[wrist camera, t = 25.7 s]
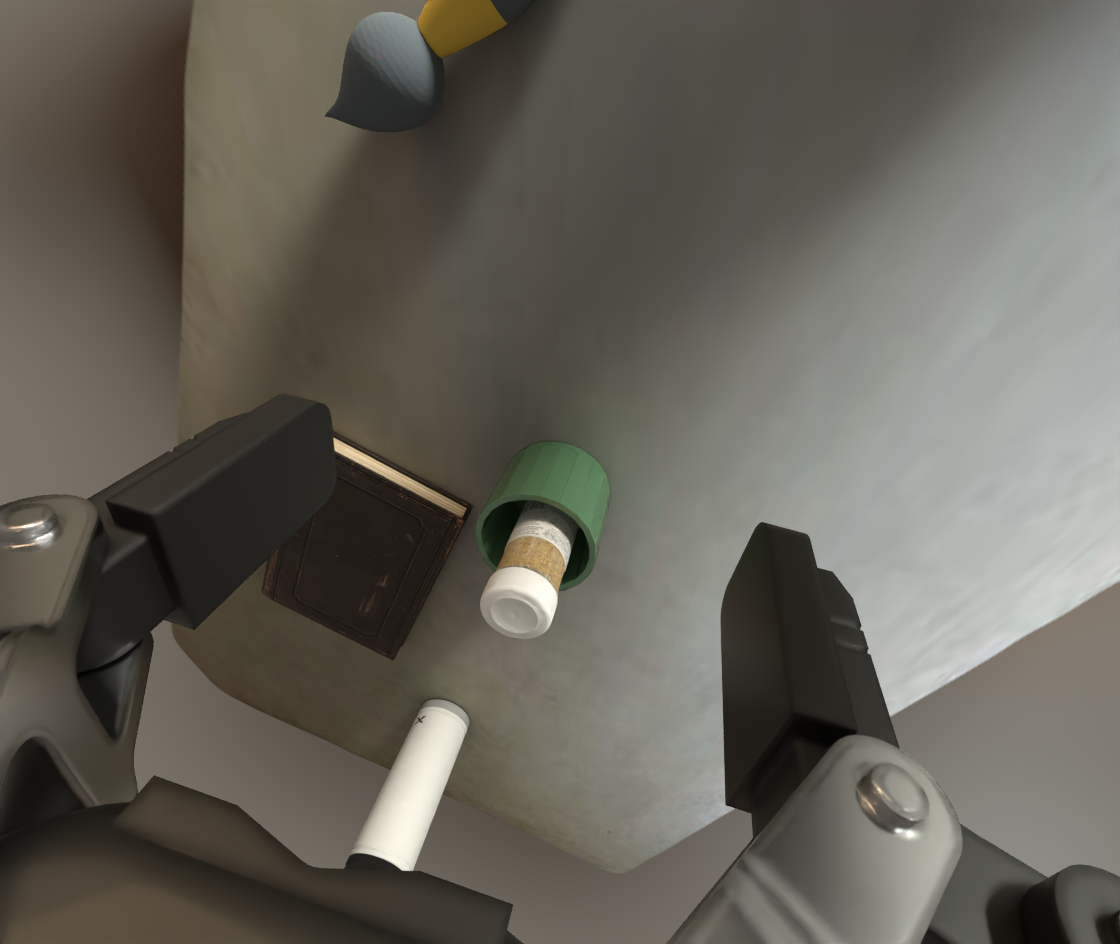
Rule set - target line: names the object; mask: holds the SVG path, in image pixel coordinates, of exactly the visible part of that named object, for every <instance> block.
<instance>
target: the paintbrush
mask: <svg viewBox="0 0 1120 944" xmlns="http://www.w3.org/2000/svg"><path fill="white" fill-rule="evenodd" d="M532 1H533V0H427V2H426V4H425V6H424V8H423V11H422V13H421V15H420V17H419V19H418V22H416V21H414V20H413V19H411V18H409V17H407V16H405V15H402V14H398V13H394V12H379V13H374V14H372V15H370V16H367V17H366V18H364V19H363V20H362V21H360V22H359V23H358V25H357V26H356V27H355V29H354V30H353V32H352V34H351V36H350V38H349V42H348V45H347V48H346V53H345V58H344V64H343V72H342V80H341V87H340V92H339V95H338V98H337V100H336V102H335V104H334V105H333V106H332V107H331V108H330V109H329V110H328V112H327V113H326V114H325V116H326V117H331V118H334V119H337V120H340V121H342V122H345V123H347V124H350V125H352V126H355V127H358V128H362V129H365V130H370V131H376V132H398V131H405V130H410V129H413V128H416V127H418V126H420V125H422V124H424V123H426V122H427V121H428V120H429V119H430V118H431V117H432V116H433V115H434V113H435V112H436V111H437V109H438V107H439V105H440V103H441V100H442V96H443V92H444V84H445V74H444V66H443V61H442V58H443V57H445V56H447V55H450V54H452V53H454V52H456V51H459V50H461V49H463V48H465V47H467V46H469V45H471V44H473V43H475V42H477V41H479V40H481V39H483V38H485V37H486V36H488V35H490V34H492V33H493V32H495V31H497V30H499V29H501V28H502V27H504V26H505V25H507V24H508V23H510V22H511V21H512V20H513V19H514V18H516V17H517V16H518V15H519V14H520V13H521V12H522V11H523V10H524V9H525V8H526V7H527V6H528V5H529V4H530V3H531V2H532Z"/></svg>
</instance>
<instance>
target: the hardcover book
mask: <svg viewBox="0 0 1120 944" xmlns="http://www.w3.org/2000/svg"><path fill="white" fill-rule="evenodd" d="M333 439H334V449H335V459H336V469H337V478H336V483H335V487H334V489H333V492H332V494H331V496H330V497H329V499H328V500H327V502H326V503H325V504H324V505H323V506H322V507H321V508H320V509H319V510H318V511H317V512H316V513H315V514H314V515H313V516H312V517H311V518H309V519H308V520H307V521H306V522H305V523H304V524H303V525H302V526H301V527H300V528H299V529H298V530H297V531H296V532H295V533H294V534H293V535H292V536H291V537H290V538H289V539H288V540H287V541H286V542H285V543H284V544H283V545H282V546H280V547H279V548H278V549H277V550H276V551H275V552H274V553H273V554H272V555H271V556H270V557H269V558H268V562H267V567H266V572H265V577H264V582H263V586H262V594H263V596H265V597H267V598H269V599H271V600H273V601H275V602H277V603H279V604H281V605H283V606H285V607H287V608H289V609H291V610H293V611H295V612H297V613H299V614H301V615H303V616H305V617H307V618H309V619H311V620H313V621H315V622H317V623H319V624H321V625H323V626H325V627H327V628H329V629H331V630H333V631H335V632H337V633H339V634H341V635H343V636H345V637H347V638H349V639H351V640H353V641H355V642H357V643H359V644H361V645H363V646H365V647H367V648H369V649H371V650H373V651H375V652H377V653H379V654H381V655H383V656H385V657H387V658H389V659H391V660H393V661H394V659H395V657H396V655H397V653H398V651H399V649H400V647H401V646H402V645H403V643H404V641H405V639H406V637H407V635H408V634H409V632H410V630H411V628H412V626H413V624H414V622H415V620H416V618H417V616H418V614H419V612H420V610H421V608H422V606H423V604H424V602H425V600H426V598H427V596H428V594H429V592H430V590H431V588H432V586H433V584H434V582H435V580H436V578H437V576H438V574H439V572H440V571H441V569H442V567H443V565H444V563H445V561H446V559H447V557H448V555H449V553H450V551H451V549H452V547H453V545H454V543H455V541H456V539H457V537H458V535H459V533H460V531H461V529H462V527H463V525H464V523H465V521H466V519H467V517H468V515H469V513H470V511H471V509H472V508H473V507H472V506H471V505H469V504H467V503H465V502H463V501H461V500H459V499H457V498H456V497H454V496H452V495H450V494H448V493H446V492H444V491H442V490H441V489H439V488H437V487H435V486H433V485H431V484H429V483H427V482H425V481H424V480H422V479H420V478H418V477H416V476H414V475H412V474H410V473H409V472H407V471H405V470H403V469H401V468H399V467H397V466H395V465H394V464H392V463H390V462H388V461H386V460H384V459H382V458H380V457H378V456H377V455H375V454H373V453H371V452H369V451H367V450H365V449H363V448H362V447H360V446H358V445H356V444H354V443H352V442H350V441H348V440H347V439H345V438H343V437H341V436H339V435H337V434H335V433H333Z"/></svg>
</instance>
